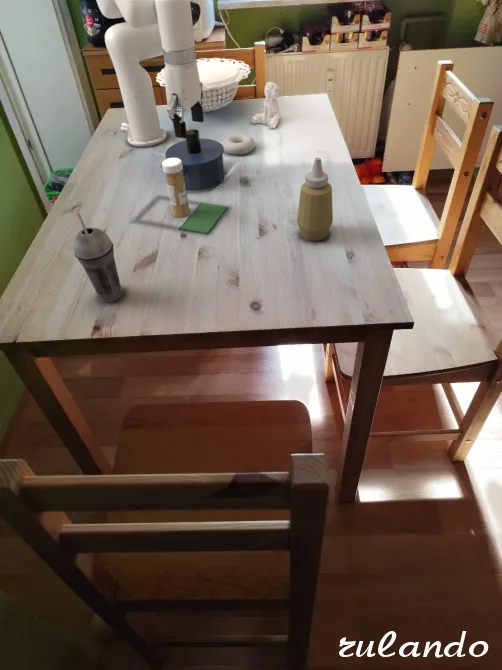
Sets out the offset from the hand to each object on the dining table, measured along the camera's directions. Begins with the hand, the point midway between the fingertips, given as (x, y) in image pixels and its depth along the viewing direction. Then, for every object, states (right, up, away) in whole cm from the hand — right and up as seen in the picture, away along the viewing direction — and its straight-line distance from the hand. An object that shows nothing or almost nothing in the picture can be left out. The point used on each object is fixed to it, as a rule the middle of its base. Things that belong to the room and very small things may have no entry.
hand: (190, 129), depth 120 cm
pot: (+1, -10, +8) cm, 13 cm away
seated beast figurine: (+22, +17, +33) cm, 44 cm away
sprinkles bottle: (-2, -23, -4) cm, 23 cm away
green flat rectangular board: (-2, -23, -4) cm, 24 cm away
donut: (+12, +3, +20) cm, 24 cm away
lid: (+1, -5, +3) cm, 6 cm away
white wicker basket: (+1, +25, +42) cm, 49 cm away
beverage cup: (-13, -45, -24) cm, 53 cm away
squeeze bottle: (+30, -30, -13) cm, 45 cm away
